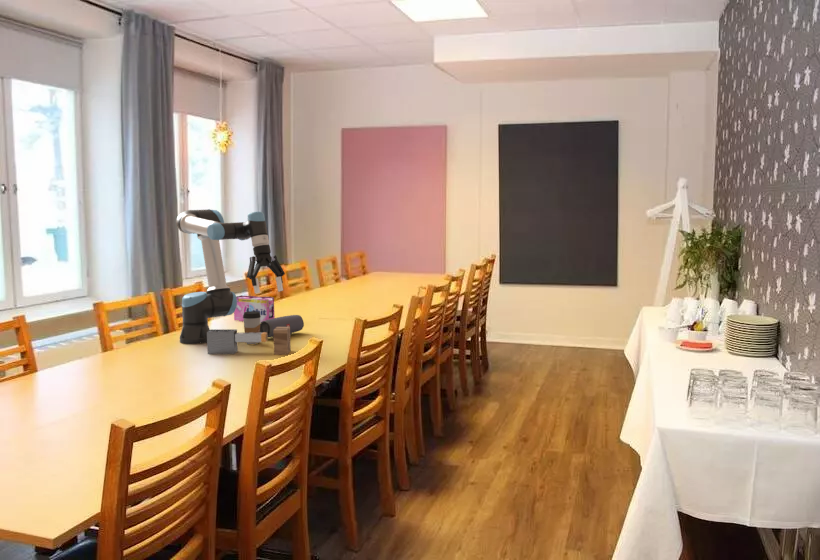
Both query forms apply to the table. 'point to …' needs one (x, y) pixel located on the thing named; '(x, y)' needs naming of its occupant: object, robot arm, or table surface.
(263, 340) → the orange-tipped grey stick
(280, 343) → the socket
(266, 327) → the bluetooth speaker
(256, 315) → the coffee cup
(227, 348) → the grey rectangular block
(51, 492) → the table surface
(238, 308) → the gum box
